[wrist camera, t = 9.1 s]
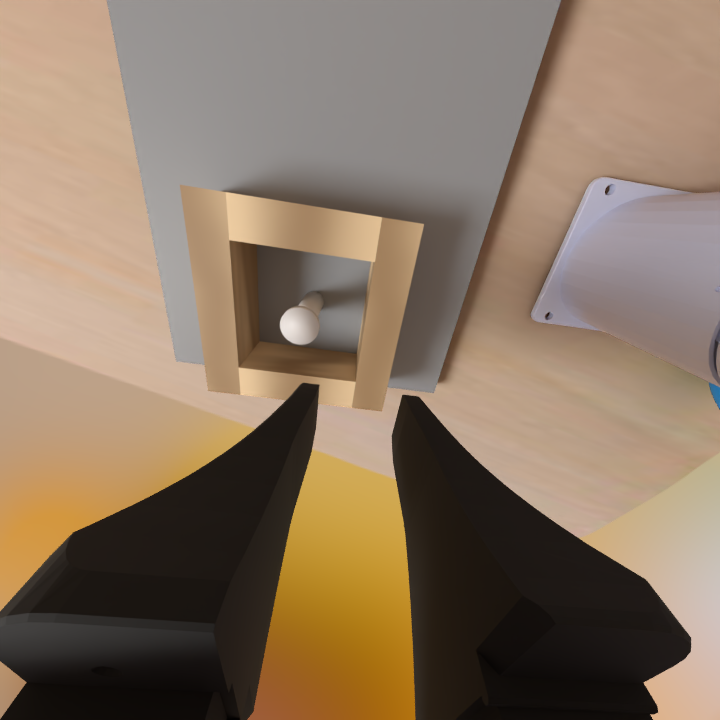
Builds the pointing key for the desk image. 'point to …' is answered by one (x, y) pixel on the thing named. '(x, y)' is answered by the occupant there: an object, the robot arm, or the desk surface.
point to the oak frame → (241, 306)
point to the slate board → (331, 144)
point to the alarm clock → (715, 393)
